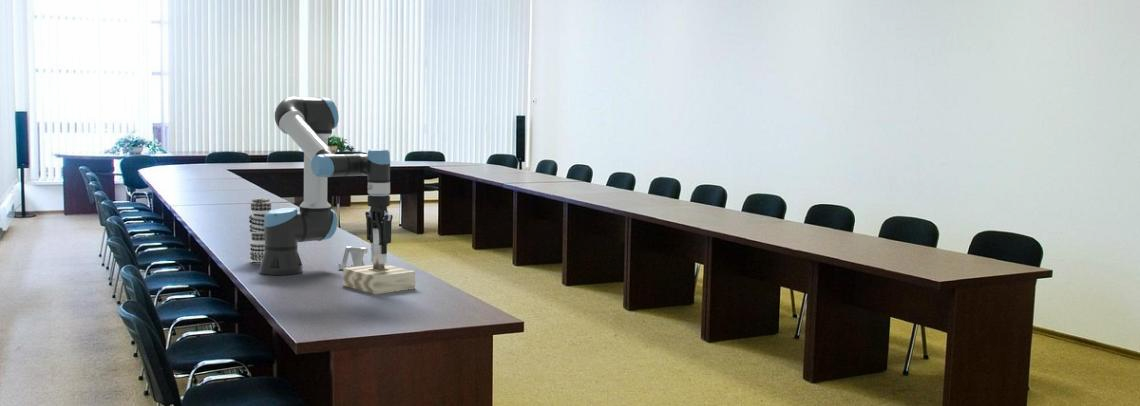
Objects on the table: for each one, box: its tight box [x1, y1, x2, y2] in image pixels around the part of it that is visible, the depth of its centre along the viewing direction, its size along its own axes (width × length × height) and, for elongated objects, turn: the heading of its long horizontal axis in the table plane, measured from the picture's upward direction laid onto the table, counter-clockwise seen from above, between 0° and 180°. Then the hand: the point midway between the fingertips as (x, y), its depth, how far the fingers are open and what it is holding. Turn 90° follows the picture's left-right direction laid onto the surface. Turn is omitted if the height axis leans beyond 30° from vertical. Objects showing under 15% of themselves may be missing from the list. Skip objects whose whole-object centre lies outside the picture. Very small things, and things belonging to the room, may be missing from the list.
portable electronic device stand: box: [337, 245, 369, 271], centre depth 361 cm, size 9×8×8 cm
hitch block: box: [342, 263, 416, 295], centre depth 327 cm, size 20×16×6 cm
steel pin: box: [372, 227, 386, 270], centre depth 326 cm, size 4×4×14 cm
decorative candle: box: [248, 197, 272, 263], centre depth 374 cm, size 9×9×25 cm
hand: (378, 262), depth 327 cm, fingers closed on steel pin, 4 cm apart
